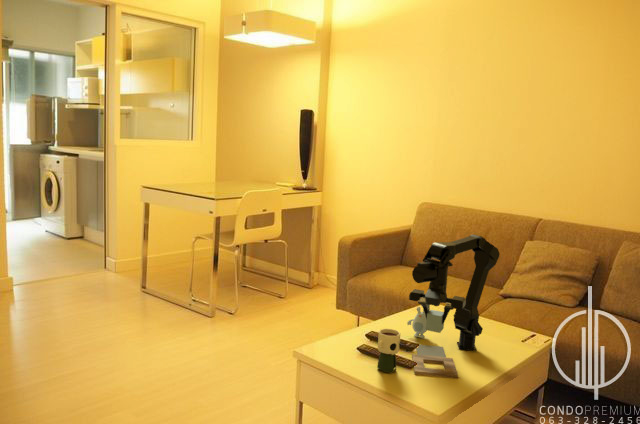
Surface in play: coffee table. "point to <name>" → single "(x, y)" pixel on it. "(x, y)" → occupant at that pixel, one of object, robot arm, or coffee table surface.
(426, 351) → the rubber mat
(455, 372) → the walnut pocket plate
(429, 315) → the slate block
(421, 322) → the toy figure
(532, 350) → the coffee table surface
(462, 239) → the robot arm
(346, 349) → the coffee table surface
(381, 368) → the character mug
